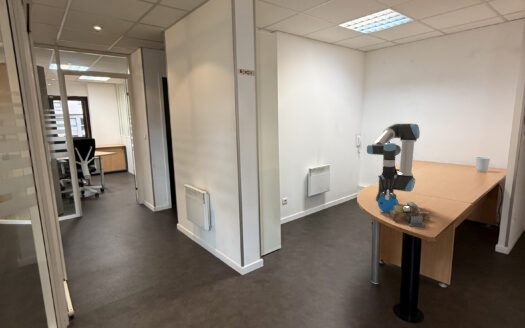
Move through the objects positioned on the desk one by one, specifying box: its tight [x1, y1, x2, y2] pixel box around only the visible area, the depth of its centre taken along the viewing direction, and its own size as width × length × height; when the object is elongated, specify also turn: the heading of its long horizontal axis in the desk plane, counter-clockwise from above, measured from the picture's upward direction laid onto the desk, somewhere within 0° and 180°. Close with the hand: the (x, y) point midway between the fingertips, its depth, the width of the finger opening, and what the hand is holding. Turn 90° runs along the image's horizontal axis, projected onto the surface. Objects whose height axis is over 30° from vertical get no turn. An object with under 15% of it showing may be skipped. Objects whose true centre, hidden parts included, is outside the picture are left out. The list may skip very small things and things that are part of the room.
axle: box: [402, 205, 421, 213], centre depth 192 cm, size 10×4×4 cm, turn 81°
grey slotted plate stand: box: [405, 215, 426, 228], centre depth 183 cm, size 8×9×6 cm
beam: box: [389, 201, 431, 222], centre depth 193 cm, size 24×8×11 cm, turn 81°
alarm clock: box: [377, 192, 399, 214], centre depth 208 cm, size 13×6×15 cm, turn 49°
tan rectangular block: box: [393, 205, 403, 213], centre depth 194 cm, size 5×4×4 cm
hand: (387, 199), depth 194 cm, fingers closed
